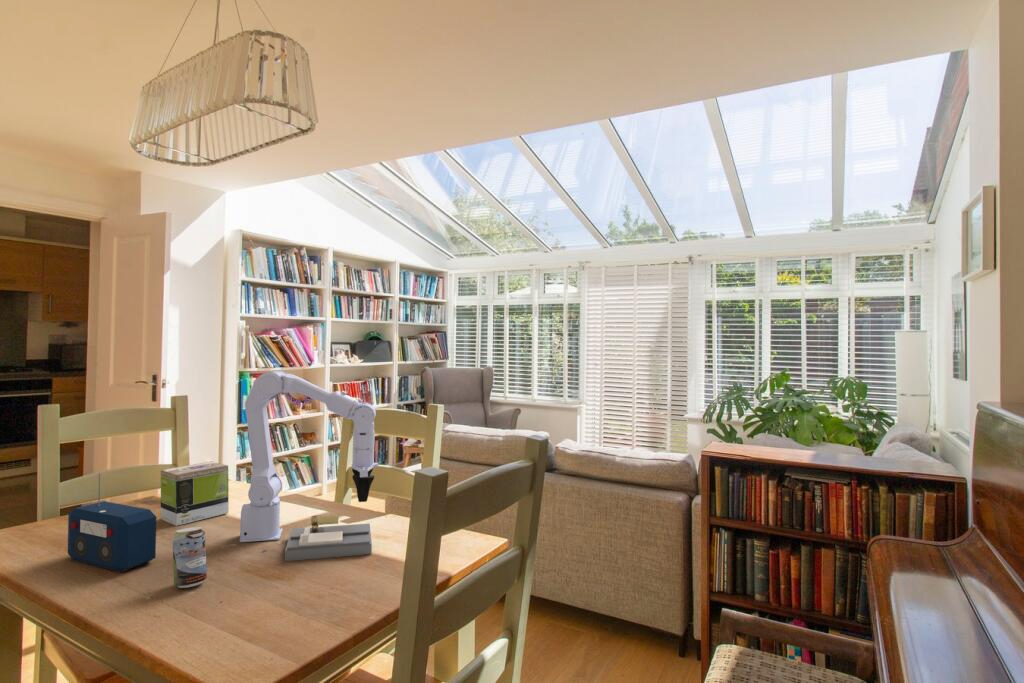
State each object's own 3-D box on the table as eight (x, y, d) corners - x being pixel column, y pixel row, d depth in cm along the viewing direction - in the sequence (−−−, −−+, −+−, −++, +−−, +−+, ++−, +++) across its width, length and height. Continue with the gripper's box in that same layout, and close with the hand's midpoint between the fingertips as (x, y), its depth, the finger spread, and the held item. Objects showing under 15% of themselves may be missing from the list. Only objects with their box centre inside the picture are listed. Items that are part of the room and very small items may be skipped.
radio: (60, 560, 130) (62, 475, 130) (100, 548, 138) (102, 467, 139) (120, 576, 123) (123, 485, 123) (159, 562, 131) (161, 476, 131)
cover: (298, 547, 134) (299, 536, 134) (301, 538, 140) (301, 527, 140) (342, 543, 137) (342, 533, 137) (342, 535, 143) (342, 524, 143)
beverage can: (183, 594, 114) (184, 536, 114) (164, 585, 118) (165, 529, 118) (213, 583, 120) (214, 527, 120) (194, 575, 124) (195, 521, 124)
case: (284, 561, 133) (284, 548, 133) (291, 538, 148) (291, 526, 148) (371, 554, 138) (371, 541, 138) (369, 532, 154) (369, 521, 154)
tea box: (212, 507, 173) (213, 460, 173) (229, 514, 167) (230, 464, 167) (159, 519, 161) (160, 468, 161) (175, 527, 155) (176, 473, 155)
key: (310, 531, 145) (310, 517, 145) (311, 529, 147) (311, 515, 147) (338, 529, 147) (338, 516, 147) (338, 527, 149) (338, 513, 149)
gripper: (380, 452, 147) (378, 504, 147) (377, 442, 161) (375, 490, 161) (352, 453, 145) (350, 505, 145) (351, 443, 159) (350, 491, 159)
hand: (362, 497), depth 153 cm, fingers open, 7 cm apart
